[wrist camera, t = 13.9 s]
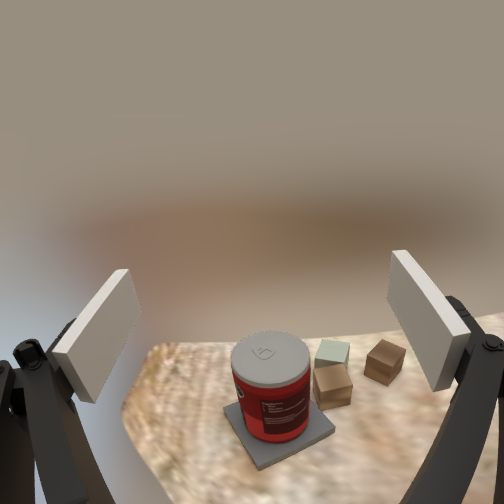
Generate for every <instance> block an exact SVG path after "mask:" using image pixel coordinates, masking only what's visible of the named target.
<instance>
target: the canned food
mask: <svg viewBox="0 0 504 504" xmlns="http://www.w3.org/2000/svg"><path fill="white" fill-rule="evenodd" d="M231 368H232V373H233V378H234V382H235V387H236V391H237V395H238V400H239V404H240V408H241V412H242V417H243V421H244V423H245V426H246V427H247V429H248V430H249V431H250V432H251V433H252V434H253V435H254V436H255V437H257V438H258V439H260V440H263V441H265V442H270V443H282V442H286V441H290V440H292V439H294V438H296V437H297V436H298V435H300V434H301V433H302V431H303V430H304V429H305V427H306V425H307V424H308V421H309V410H310V373H311V368H310V352H309V350H308V347H307V346H306V344H305V343H304V342H303V341H302V340H301V339H299V338H298V337H296V336H294V335H292V334H289V333H285V332H279V331H265V332H259V333H255V334H252V335H249V336H248V337H246V338H244V339H243V340H241V341H240V342H238V343H237V345H236V346H235V347H234V349H233V350H232V353H231Z"/></svg>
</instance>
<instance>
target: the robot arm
mask: <svg viewBox="0 0 504 504" xmlns="http://www.w3.org/2000/svg"><path fill="white" fill-rule="evenodd" d="M387 300H388V302H389V304H390V306H391V308H392V310H393V312H394V313H395V315H396V317H397V319H398V321H399V323H400V325H401V327H402V329H403V331H404V333H405V335H406V337H407V339H408V341H409V343H410V345H411V347H412V349H413V351H414V353H415V355H416V357H417V359H418V361H419V363H420V365H421V367H422V369H423V371H424V374H425V376H426V378H427V380H428V382H429V384H430V387H431V389H432V391H433V392H436V391H440V390H445V389H448V388H450V386H451V384H452V382H453V379H454V377H455V379H456V381H457V383H458V386H457V389H456V391H455V393H454V395H453V397H452V399H451V401H450V403H451V404H450V406H449V409H448V411H447V413H446V416H445V418H444V420H443V423H442V425H441V427H440V429H439V432H438V434H437V436H436V438H435V440H434V442H433V444H432V446H431V448H430V450H429V452H428V454H427V456H426V458H425V460H424V462H423V464H422V466H421V468H420V469H419V471H418V473H417V475H416V477H415V478H414V480H413V482H412V484H411V485H410V487H409V489H408V490H407V492H406V494H405V495H404V497H403V499H402V500H401V502H400V503H399V504H461V503H462V501H463V498H464V496H465V494H466V492H467V489H468V487H469V485H470V482H471V480H472V477H473V475H474V472H475V469H476V467H477V464H478V461H479V459H480V456H481V453H482V450H483V447H484V444H485V441H486V438H487V434H488V431H489V428H490V424H491V421H492V417H493V413H494V409H495V405H496V401H497V398H498V404H499V444H498V463H497V475H496V485H495V493H494V501H493V504H504V341H503V340H502V339H500V338H499V337H497V336H495V335H492V334H485V332H484V331H483V330H482V328H481V327H480V326H479V325H478V323H477V322H476V321H475V319H474V318H473V317H472V316H471V314H470V313H469V312H468V310H466V308H465V307H464V305H463V304H462V303H461V302H460V301H459V300H457V299H456V298H454V297H452V296H445V297H444V295H443V294H442V293H441V292H440V290H439V289H438V288H437V287H436V285H435V284H434V283H433V282H432V280H431V279H430V278H429V277H428V276H427V275H426V273H425V272H424V271H423V270H422V268H421V267H420V266H419V265H418V264H417V263H416V261H415V260H414V259H413V258H412V256H411V255H410V254H409V253H408V252H407V251H406V250H398V251H392V257H391V267H390V276H389V285H388V294H387ZM141 315H142V311H141V308H140V305H139V302H138V298H137V295H136V292H135V288H134V285H133V281H132V278H131V275H130V271H129V269H121V270H116V271H115V272H114V273H113V275H112V276H111V277H110V278H109V279H108V280H107V282H106V283H105V284H104V285H103V286H102V288H101V289H100V290H99V291H98V292H97V294H96V295H95V296H94V297H93V299H92V300H91V301H90V302H89V304H88V305H87V306H86V307H85V309H84V310H83V311H82V313H81V314H80V315H79V316H78V317H77V318H75V319H73V320H72V321H71V322H70V323H68V324H67V325H66V326H65V328H64V329H63V330H62V333H60V334H59V335H58V338H56V339H55V341H54V342H53V343H52V345H51V346H50V347H49V349H48V350H47V351H46V353H44V351H43V349H42V347H41V345H40V343H39V341H38V340H36V339H28V340H25V341H23V342H21V343H20V344H19V345H18V346H16V348H15V349H14V351H13V355H14V357H15V359H16V360H17V362H18V364H19V366H20V367H21V368H17V369H13V368H12V367H11V365H10V364H9V362H8V361H6V360H1V361H0V504H35V486H34V485H35V484H34V482H35V480H34V469H35V461H36V465H37V470H38V474H39V477H40V481H41V485H42V488H43V492H44V495H45V499H46V502H47V504H116V503H115V501H114V500H113V498H112V495H111V493H110V492H109V489H108V487H107V485H106V483H105V481H104V479H103V477H102V474H101V472H100V470H99V468H98V465H97V463H96V461H95V458H94V456H93V453H92V451H91V449H90V446H89V443H88V441H87V438H86V435H85V433H84V430H83V427H82V425H81V421H80V419H79V416H78V413H77V410H76V407H75V403H74V402H73V400H72V399H71V397H72V395H73V393H74V392H75V393H76V395H77V396H78V398H79V399H80V401H83V402H89V403H94V404H95V402H96V400H97V398H98V396H99V394H100V392H101V390H102V388H103V386H104V384H105V382H106V380H107V378H108V377H109V375H110V373H111V371H112V369H113V367H114V365H115V363H116V361H117V359H118V357H119V355H120V353H121V351H122V350H123V348H124V346H125V344H126V342H127V340H128V338H129V337H130V335H131V333H132V331H133V329H134V327H135V326H136V324H137V322H138V320H139V319H140V317H141ZM9 408H10V409H11V411H10V410H9Z"/></svg>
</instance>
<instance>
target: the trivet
mask: <svg viewBox="0 0 504 504" xmlns="http://www.w3.org/2000/svg"><path fill="white" fill-rule="evenodd" d="M223 410H224V413H225V415H226V417H227V418H228V420H229V422H230V424H231V425H232V427H233V429H234V430H235V432H236V434H237V435H238V437H239V439H240V441H241V442H242V444H243V445H244V447H245V449H246V450H247V452H248V454H249V455H250V457H251V458H252V460H253V462H254V463H255V465H256V466H257V468H258V470H262V469H264V468H266V467H268V466H270V465H273V464H275V463H277V462H279V461H281V460H283V459H285V458H287V457H289V456H291V455H293V454H295V453H297V452H299V451H301V450H303V449H305V448H307V447H309V446H311V445H312V444H314V443H316V442H318V441H320V440H322V439H323V438H325V437H327V436H329V435H330V434H332V433H334V432H335V426H334V425H333V423H332V422H331V421H330V420H329V419H328V418H327V417H326V416H325V415H324V414H323V413H322V412H321V410H320V409H319V408H318V407H317V406H316V405H315V404H314V403H313V402H312V400H311V399H310V410H309V421H308V424H307V425H306V427H305V429H304V430H303V431H302V433H301V434H300V435H298V436H297V437H296V438H294V439H292V440H290V441H286V442H282V443H270V442H265V441H263V440H260V439H258V438H257V437H255V436H254V435H253V434H252V433H251V432H250V431H249V430H248V429H247V427H246V426H245V423H244V421H243V417H242V412H241V408H240V404H239V401H238V402H236V403H233V404H231V405H228V406H226V407H223Z"/></svg>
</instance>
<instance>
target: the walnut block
mask: <svg viewBox="0 0 504 504" xmlns="http://www.w3.org/2000/svg"><path fill="white" fill-rule="evenodd" d="M405 353H406V349H404V348H402V347H399V346H397V345H395V344H392V343H390V342H388V341H385V340H383V339H382V340H381V341H380V342H379V343H378V344H377V345H376V346H375V347H374V348H373V349H372V350H371V351H370V352H369V353H368V354H367V359H366V365H365V371H364V375H365V376H367V377H369V378H371V379H373V380H375V381H377V382H379V383H381V384H383V385H385V386H387V387H388V385H389V384H390V383H391V382H392V381H393V379H394V378H395V377H396V376H397V374H398V373H399V372H400V371H401V369H402V365H403V361H404V357H405Z"/></svg>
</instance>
